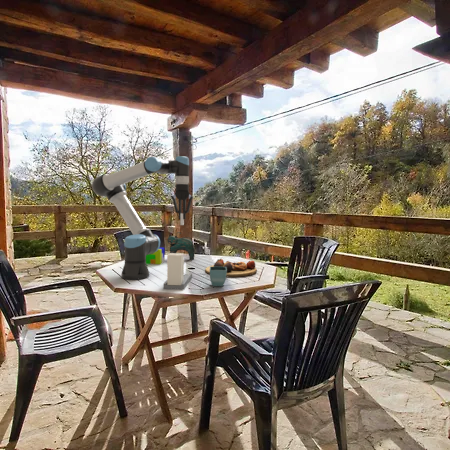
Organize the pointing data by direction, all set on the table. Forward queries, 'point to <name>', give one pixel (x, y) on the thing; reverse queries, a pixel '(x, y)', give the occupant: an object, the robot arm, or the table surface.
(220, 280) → the flower pot
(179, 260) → the cream block
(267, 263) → the table surface
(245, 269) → the wooden plate with food
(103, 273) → the table surface
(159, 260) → the puzzle toy
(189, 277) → the grey chute
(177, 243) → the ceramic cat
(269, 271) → the table surface
